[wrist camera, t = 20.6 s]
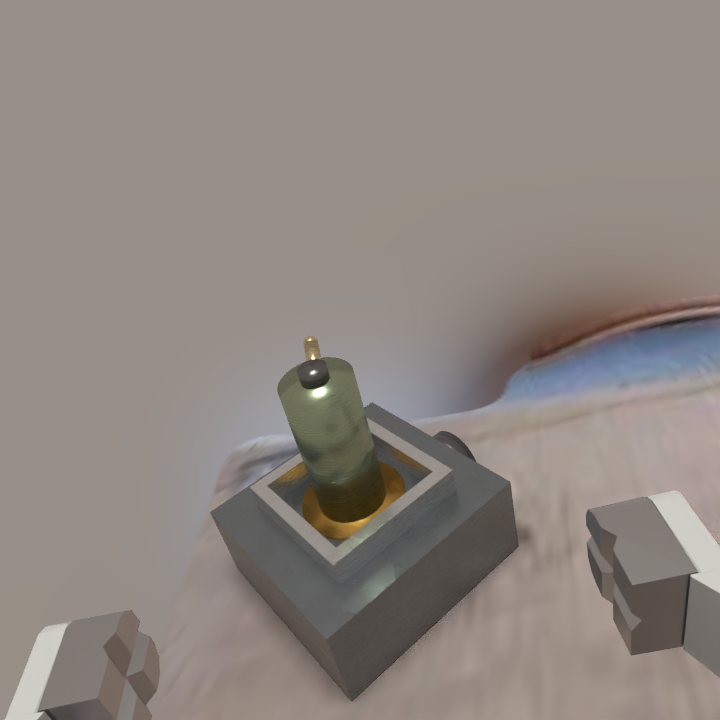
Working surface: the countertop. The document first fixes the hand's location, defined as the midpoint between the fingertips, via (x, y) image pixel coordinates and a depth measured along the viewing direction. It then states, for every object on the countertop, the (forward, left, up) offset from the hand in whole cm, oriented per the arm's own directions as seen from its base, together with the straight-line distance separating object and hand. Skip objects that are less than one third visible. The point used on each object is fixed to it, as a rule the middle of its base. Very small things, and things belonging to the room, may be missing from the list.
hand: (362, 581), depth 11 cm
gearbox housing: (-12, -25, -32) cm, 43 cm away
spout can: (-12, -25, -25) cm, 38 cm away
